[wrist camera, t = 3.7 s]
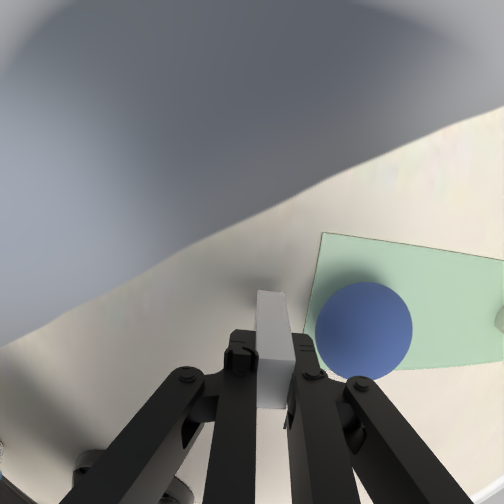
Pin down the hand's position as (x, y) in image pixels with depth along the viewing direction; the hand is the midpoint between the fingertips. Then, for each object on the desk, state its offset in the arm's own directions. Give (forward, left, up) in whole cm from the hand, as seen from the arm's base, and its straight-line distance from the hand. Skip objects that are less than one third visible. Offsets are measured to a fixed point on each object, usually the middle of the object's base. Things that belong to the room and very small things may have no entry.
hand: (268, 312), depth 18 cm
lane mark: (+19, 0, -2) cm, 19 cm away
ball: (+6, 0, +1) cm, 6 cm away
